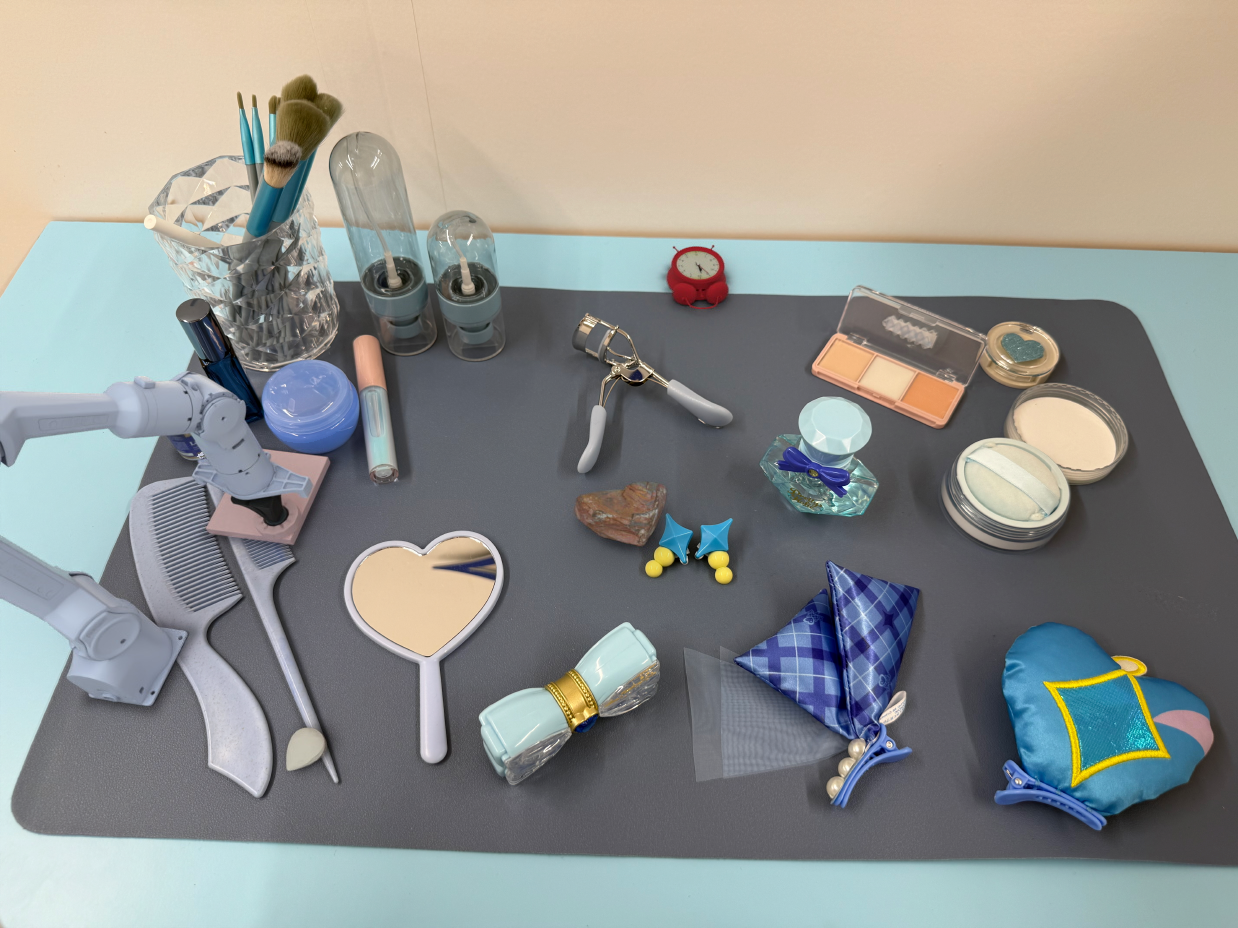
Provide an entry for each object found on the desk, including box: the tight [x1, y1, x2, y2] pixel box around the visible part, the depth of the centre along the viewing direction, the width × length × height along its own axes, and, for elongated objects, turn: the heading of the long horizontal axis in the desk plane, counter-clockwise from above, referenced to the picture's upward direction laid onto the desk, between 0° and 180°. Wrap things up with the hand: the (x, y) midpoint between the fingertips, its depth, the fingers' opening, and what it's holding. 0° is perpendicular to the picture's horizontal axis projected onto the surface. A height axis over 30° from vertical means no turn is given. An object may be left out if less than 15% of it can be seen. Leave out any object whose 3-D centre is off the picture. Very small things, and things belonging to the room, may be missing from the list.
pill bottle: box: [166, 433, 207, 461], centre depth 110 cm, size 6×6×10 cm
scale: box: [205, 448, 331, 546], centre depth 108 cm, size 14×12×3 cm
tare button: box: [265, 508, 289, 527], centre depth 104 cm, size 3×3×2 cm
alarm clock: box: [666, 244, 729, 310], centre depth 134 cm, size 10×6×15 cm
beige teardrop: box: [285, 726, 328, 772], centre depth 87 cm, size 4×5×2 cm
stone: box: [573, 480, 668, 547], centre depth 102 cm, size 13×8×10 cm
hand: (275, 515), depth 104 cm, fingers closed, pressing on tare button
